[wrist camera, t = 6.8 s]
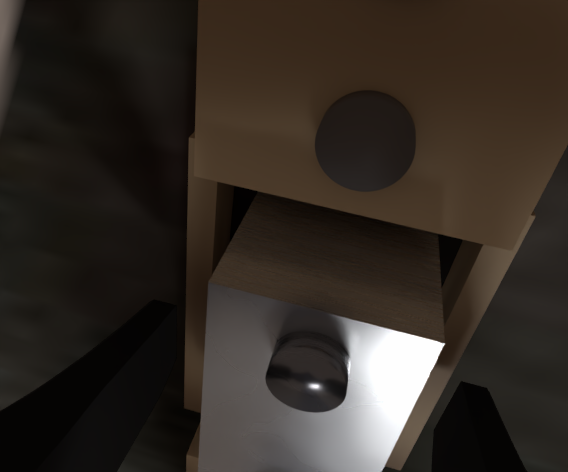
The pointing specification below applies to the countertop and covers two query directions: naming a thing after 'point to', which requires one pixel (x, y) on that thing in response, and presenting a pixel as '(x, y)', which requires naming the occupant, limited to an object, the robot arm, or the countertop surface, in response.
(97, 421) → the robot arm
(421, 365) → the white box with knobs
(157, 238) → the countertop surface
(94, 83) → the countertop surface
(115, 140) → the countertop surface
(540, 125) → the wooden frame
